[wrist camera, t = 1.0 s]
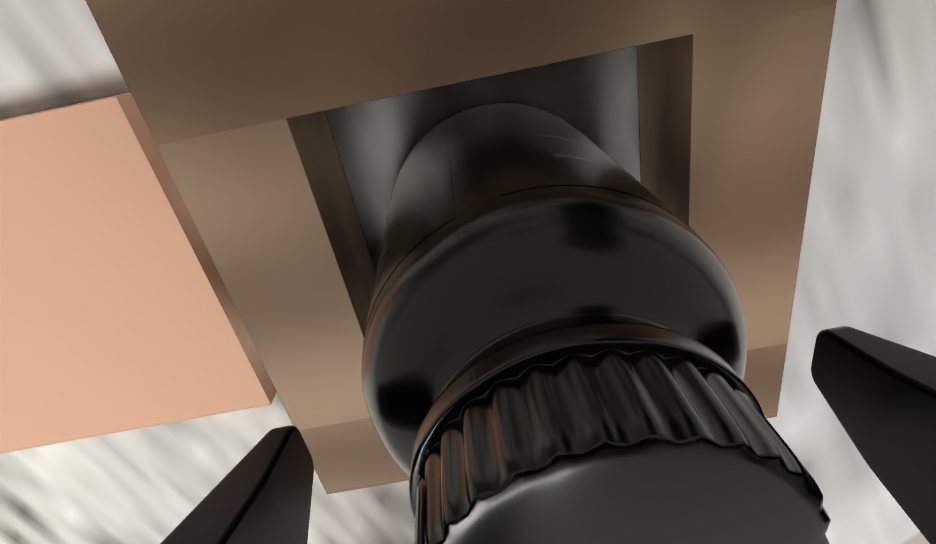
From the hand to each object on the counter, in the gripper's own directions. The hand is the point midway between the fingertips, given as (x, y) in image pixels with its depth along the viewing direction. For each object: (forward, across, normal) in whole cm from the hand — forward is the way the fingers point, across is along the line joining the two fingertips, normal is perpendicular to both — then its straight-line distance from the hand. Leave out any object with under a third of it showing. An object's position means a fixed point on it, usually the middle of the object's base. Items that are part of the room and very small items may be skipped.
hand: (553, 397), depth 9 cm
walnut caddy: (+9, 0, 0) cm, 9 cm away
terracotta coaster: (+9, +15, 0) cm, 17 cm away
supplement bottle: (+9, 0, 0) cm, 9 cm away
